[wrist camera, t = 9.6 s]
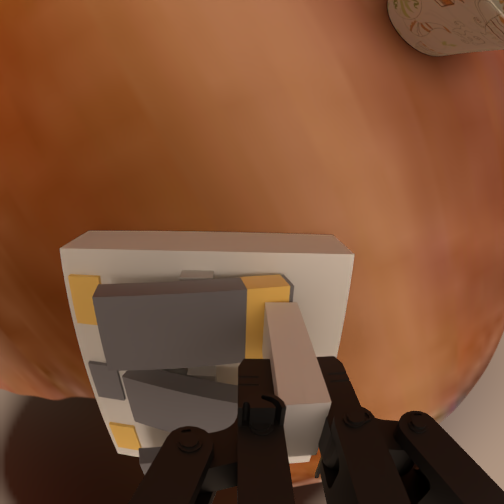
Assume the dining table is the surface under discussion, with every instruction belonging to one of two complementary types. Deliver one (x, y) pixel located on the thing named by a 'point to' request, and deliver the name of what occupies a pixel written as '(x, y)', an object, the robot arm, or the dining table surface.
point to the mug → (449, 25)
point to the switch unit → (198, 268)
